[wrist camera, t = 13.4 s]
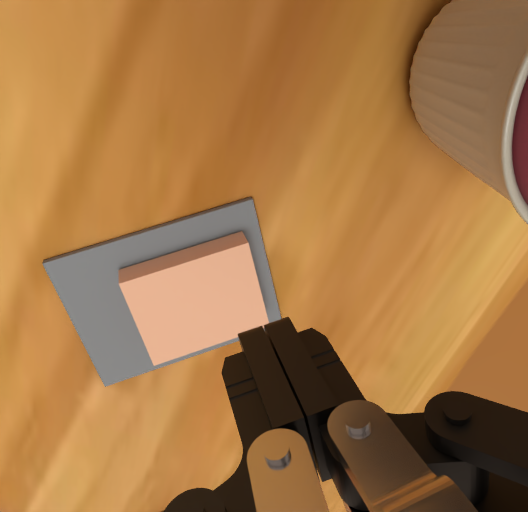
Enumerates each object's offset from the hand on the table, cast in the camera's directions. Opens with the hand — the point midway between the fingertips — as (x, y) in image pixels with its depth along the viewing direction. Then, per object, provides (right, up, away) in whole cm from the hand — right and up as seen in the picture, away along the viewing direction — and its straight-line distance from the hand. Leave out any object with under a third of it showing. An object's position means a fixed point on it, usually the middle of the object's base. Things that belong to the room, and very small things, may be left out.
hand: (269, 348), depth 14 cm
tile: (-11, -3, +30) cm, 32 cm away
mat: (-8, -1, +32) cm, 33 cm away
